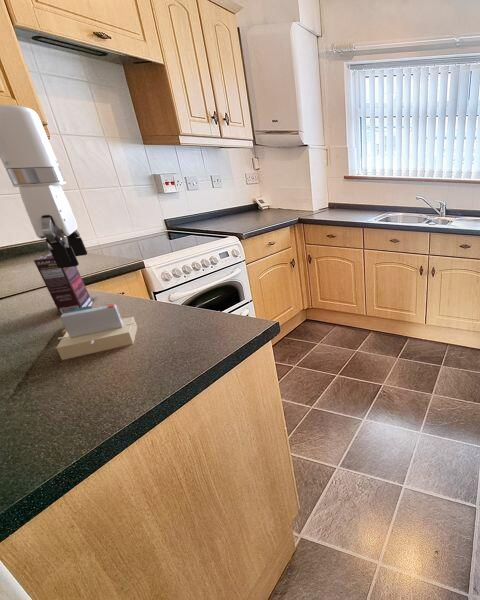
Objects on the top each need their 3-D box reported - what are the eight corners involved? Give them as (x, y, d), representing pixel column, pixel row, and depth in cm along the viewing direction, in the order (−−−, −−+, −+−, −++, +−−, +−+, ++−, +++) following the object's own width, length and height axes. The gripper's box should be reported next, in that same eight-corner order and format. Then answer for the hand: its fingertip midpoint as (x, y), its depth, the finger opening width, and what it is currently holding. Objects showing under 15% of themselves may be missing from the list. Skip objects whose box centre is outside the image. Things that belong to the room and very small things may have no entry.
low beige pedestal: (55, 366, 67) (48, 352, 66) (72, 337, 78) (66, 325, 76) (135, 347, 73) (130, 334, 72) (141, 323, 84) (137, 312, 82)
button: (73, 320, 79) (70, 313, 78) (77, 314, 82) (74, 308, 81) (93, 316, 80) (90, 310, 80) (96, 311, 83) (93, 304, 83)
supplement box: (71, 306, 94) (46, 251, 87) (93, 303, 96) (70, 249, 89) (60, 319, 86) (31, 260, 80) (84, 315, 88) (58, 257, 82)
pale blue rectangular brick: (70, 337, 71) (59, 316, 69) (72, 334, 73) (62, 312, 71) (122, 327, 76) (114, 306, 74) (123, 323, 77) (115, 303, 75)
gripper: (25, 176, 71) (61, 254, 78) (-8, 181, 58) (39, 275, 65) (72, 174, 75) (102, 249, 82) (51, 178, 61) (89, 268, 68)
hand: (74, 260), depth 73 cm, fingers open, 9 cm apart
